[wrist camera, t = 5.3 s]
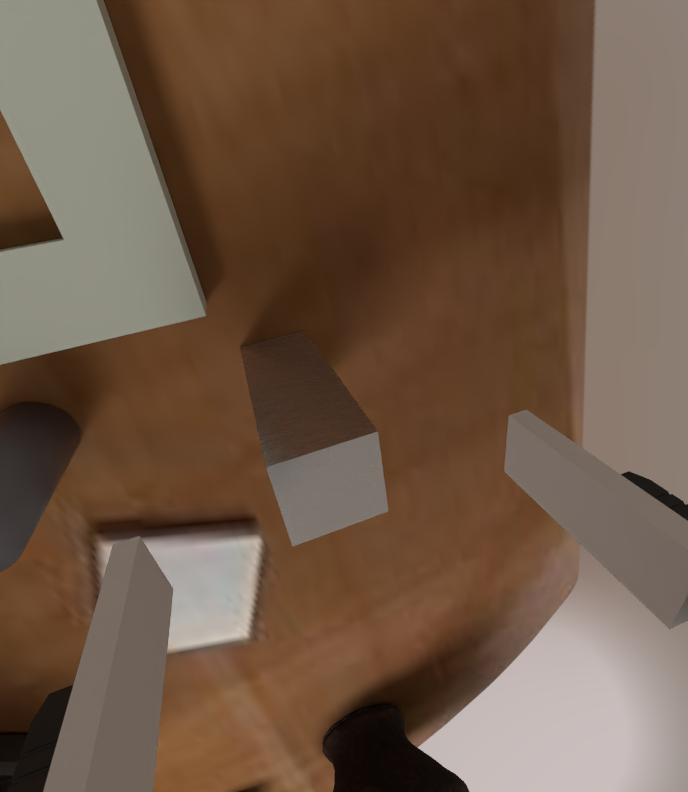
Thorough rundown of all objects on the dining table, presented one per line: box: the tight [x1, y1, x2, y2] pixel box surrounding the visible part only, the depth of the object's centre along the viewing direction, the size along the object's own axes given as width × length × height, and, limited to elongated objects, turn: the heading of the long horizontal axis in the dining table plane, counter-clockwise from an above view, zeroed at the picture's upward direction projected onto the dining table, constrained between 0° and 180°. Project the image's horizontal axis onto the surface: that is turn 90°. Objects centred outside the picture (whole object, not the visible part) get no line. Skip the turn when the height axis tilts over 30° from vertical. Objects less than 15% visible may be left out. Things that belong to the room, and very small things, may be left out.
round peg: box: [0, 402, 80, 572], centre depth 18 cm, size 4×4×8 cm
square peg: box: [240, 331, 388, 547], centre depth 19 cm, size 4×4×12 cm
